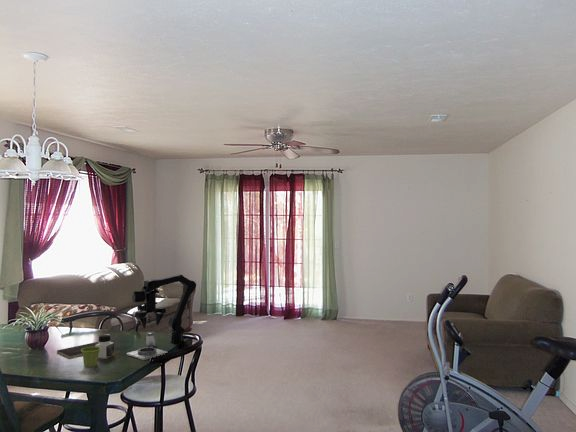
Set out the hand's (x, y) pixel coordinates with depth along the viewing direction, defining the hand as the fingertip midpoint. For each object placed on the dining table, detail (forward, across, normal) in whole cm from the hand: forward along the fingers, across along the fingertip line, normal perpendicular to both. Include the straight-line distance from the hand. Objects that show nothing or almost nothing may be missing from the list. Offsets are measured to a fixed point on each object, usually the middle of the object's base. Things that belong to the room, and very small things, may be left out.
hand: (150, 326), depth 270 cm
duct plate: (+12, +11, +12) cm, 20 cm away
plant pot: (+12, +41, +5) cm, 43 cm away
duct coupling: (+12, 0, 0) cm, 12 cm away
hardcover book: (+12, +30, -22) cm, 39 cm away
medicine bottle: (+12, +28, -4) cm, 31 cm away
